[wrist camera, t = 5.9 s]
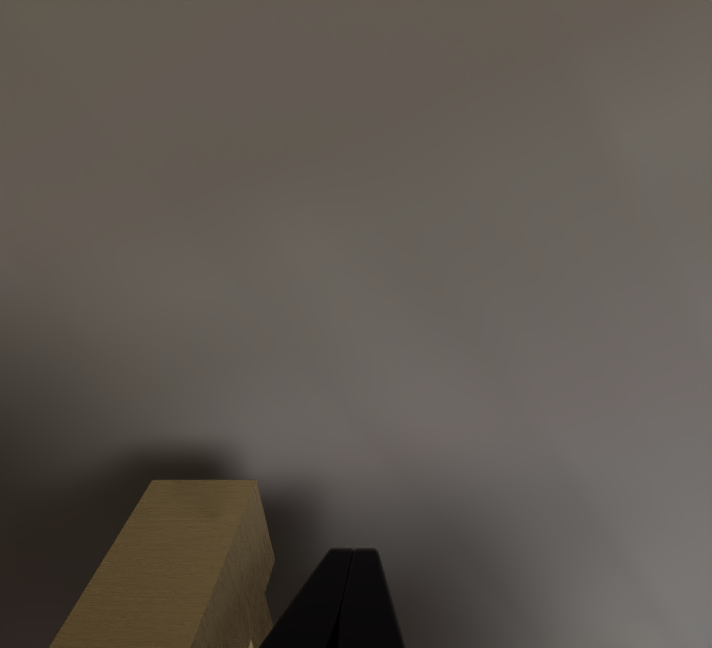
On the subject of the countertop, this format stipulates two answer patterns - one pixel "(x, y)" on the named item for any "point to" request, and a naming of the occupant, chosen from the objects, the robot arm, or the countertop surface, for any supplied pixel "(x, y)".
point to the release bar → (181, 573)
